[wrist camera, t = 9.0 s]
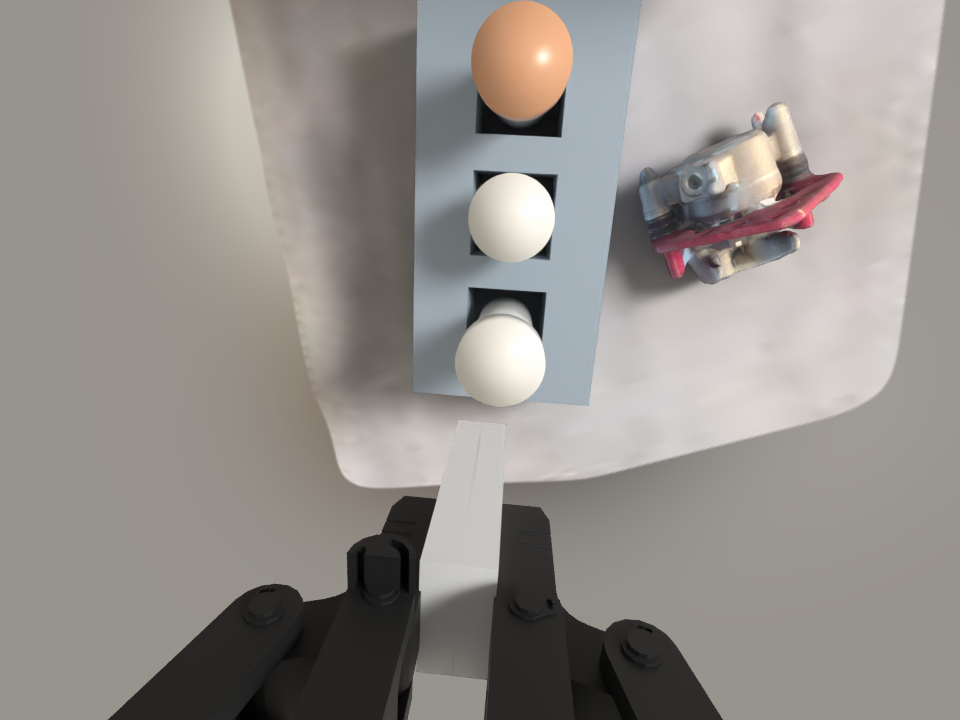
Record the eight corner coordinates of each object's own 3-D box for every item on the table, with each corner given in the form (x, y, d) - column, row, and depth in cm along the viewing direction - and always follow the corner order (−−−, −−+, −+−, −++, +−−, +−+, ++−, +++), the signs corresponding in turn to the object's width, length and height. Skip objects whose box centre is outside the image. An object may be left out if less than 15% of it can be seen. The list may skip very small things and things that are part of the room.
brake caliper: (675, 334, 37) (686, 256, 26) (618, 217, 41) (606, 106, 30) (838, 272, 35) (925, 158, 24) (760, 155, 39) (804, 12, 28)
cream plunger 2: (472, 287, 33) (456, 317, 25) (542, 291, 33) (549, 324, 25) (469, 353, 35) (453, 403, 26) (536, 358, 34) (541, 410, 26)
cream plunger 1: (482, 176, 35) (470, 170, 26) (550, 180, 34) (559, 175, 26) (479, 245, 36) (466, 259, 28) (543, 249, 36) (550, 265, 27)
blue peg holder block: (437, 21, 34) (417, -22, 27) (618, 28, 33) (643, -15, 27) (430, 360, 41) (412, 391, 35) (577, 371, 41) (588, 406, 34)
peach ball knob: (486, 52, 31) (473, -2, 22) (562, 55, 30) (578, 2, 22) (482, 135, 32) (468, 114, 24) (555, 139, 32) (567, 118, 23)
